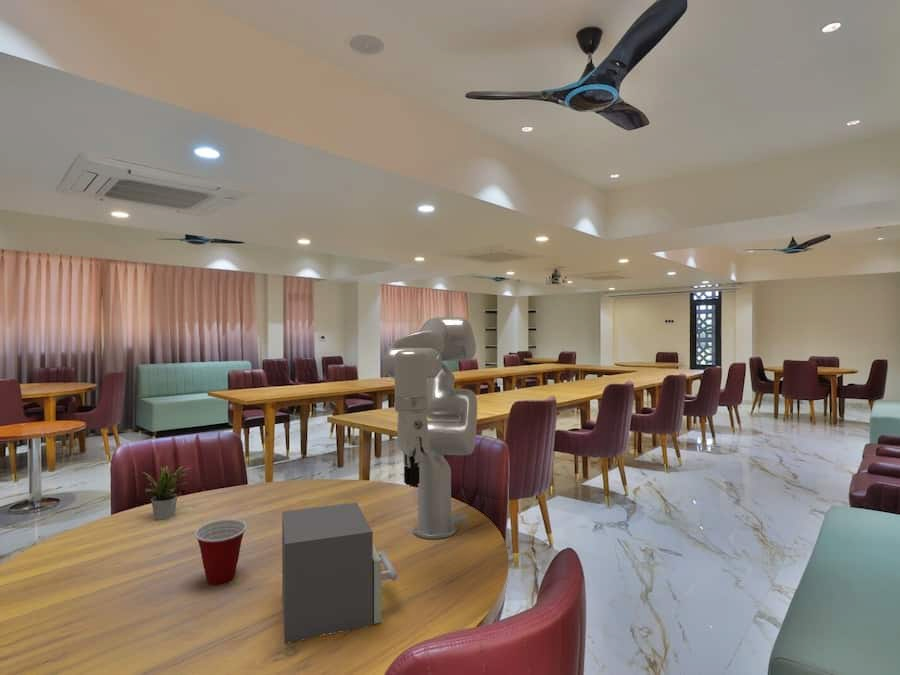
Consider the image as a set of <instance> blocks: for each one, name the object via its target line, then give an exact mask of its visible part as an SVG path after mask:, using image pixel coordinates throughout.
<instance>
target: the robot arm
mask: <svg viewBox="0 0 900 675" xmlns="http://www.w3.org/2000/svg"><path fill="white" fill-rule="evenodd" d="M476 352H477V345H476V339H475V336H474V331H473V329H472V326H471V324H470V322H469V321H468V320H467V318H465V317H462V316H461V317H459V316H458V317H457V316H456V317H453V316H451V317H447V316H446V317H440V316H439V317H432V318H429V319H427V320H426V321H425V322H424V324H422V326H421V328H420V329H419V331H418V332H414V333H411V334H409V335H408V334H407V335H405V336H404V337H403V336H402V337H401V338H398V339H396V340H394V341H393V342H392V343H391V344H390V345H389V346H388V348H387V349H386V351H385V353H384V356H383V360H382V368H383V371H384V373H385V375H386V376H387V377H389V378H392V379H394V411H395V412H396V413H397V432H396V434H397V435H396V437H397V439H396V440H397V447H398V449H399V450H400V451H401V452H402V453H403V465H404V466H403V470H404V471H403V483H404V484H405V485H406V486H413V485H417V522H415V524H413V526H412V532H413V534H414V535H415V536H417V537H420V538H422V539H423V538H424V539H429V540H430V539H431V540H438V539H445V538H449V537H451V536H453V535H455V533H456V532H457V524H458V523H465V522H467V521H468V516H467V514H462V515H460V513H458V512H457V513H452V494H451V493H452V469H451V466H450V464H449V462H448V460H446V458H445V457H444V456H446V455H447V456H469V455H471V454H472V453H473V452H474V451H475V447H476V441H477V440H476V439H477V423H478V419H477V418H478V400H477V396H476V393H475V392H474V391H472V390H471V389H466V388H455V384H456V378H455V375H454V373H453V372H452V371H451V369H450V368H449V367H448V366H447V365H446V364H445V363H443V362H448V361H449V362H468V361H471V360H473V359H474V357H475V355H476ZM428 419H430V420H428Z"/></svg>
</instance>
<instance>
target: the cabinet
mask: <svg viewBox="0 0 900 675" xmlns="http://www.w3.org/2000/svg"><path fill="white" fill-rule="evenodd" d="M281 515H282V516H281V518H282V519H281V520H282V521H281V522H282V524H281V525H282V526H281V527H282V528H281V531H282V532H281V534H282V535H281V537H282V538H281V539H282V540H281V541H282V542H281V544H282V548H281V549H282V552H281V553H282V554H281V556H282V557H281V559H282V560H281V562H282V563H281V565H282V568H281V570H282V573H281V574H282V576H281V578H282V579H281V582H282V583H281V584H282V588H281V590H282V592H281V593H282V594H281V595H282V596H281V597H282V599H281V600H282V612H283V613H282V615H283V636H284V637H283V638H284V639H285V640H284V644H285V643H287V644H289V643H288V642H292V643H294V642H293V641H296V642H300V641H299V640H301V641H303V640H302V639H306V640H309V639H308V638H311V639H313V638H312V637H316V636H320V635H323V634H329V633H334V632H339V631H345V632H347V631H346V630H349V631H353V630H352V629H354V630H358V629H357V628H359V629H362V628H361V627H364V628H366V627H365V626H369V627H372V626H371V625H373V624H374V622H373V545H374V542H373V540H374V539H373V538H374V537H373V536H374V534H373V533H374V532H373V530H372V528H371V527H370V524H369V522H368V521H367V519H366V517H365V515H364V513H363V511H362V510H361V508H360V506H359V504H358V502H350V503H342V504H335V505H326V506H317V507H309V508H300V509H291V510H289V509H288V510H283V511H282V514H281ZM316 638H317V637H316Z"/></svg>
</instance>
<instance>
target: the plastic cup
mask: <svg viewBox="0 0 900 675" xmlns="http://www.w3.org/2000/svg"><path fill="white" fill-rule="evenodd" d="M247 526H248V525H247V524H246V523H245V521H243V520H240V519H234V518H233V519H232V518H226V519H218V520H213V521H210V522H208V523H205V524H202V525H201V526H198V528H196V530H195V532H194V537H195V538H196V540H197V542H198V545H199V549H200V554H201V561H202V566H203V570H204V575H205V580H206V583H207V584H208V585H211V586H222V585H225V584H228V583H230V582H232V581H233V580H234V579H235V576H236V573H237V568H238V567H237V566H238V562H239V558H240V550H241V545H242V540H243V537H244V533H245V532H246V530H247Z"/></svg>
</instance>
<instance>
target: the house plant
mask: <svg viewBox="0 0 900 675" xmlns="http://www.w3.org/2000/svg"><path fill="white" fill-rule="evenodd" d="M159 467H160V470H161V475H160V478H159V480H158V483H157V480H155V479H154V477H153V476H152V475H150V474H148V473H146V472H144V471H142V472H141V473H142V474H144V475H146V476H147V477H146V479H147V480H149V481H150V482H151V483H149V487H150V488H145V489H144V490H145V493H146V492H150V493H152V494H153V495H154V497H152V498H151V499H150V501H151V506H152V512H153V517H154V520H155V521H158V520H162V521H166V520H165V519H168V520H170V519H169V518H171V517H173V516H174V517H175V512H176V507H177V501H178V494H175V492H176V491H177V490H178V489H179V488H180V487H181V486H183V485H184V486H186V483H187V484H188V481H186V482H183V483H176V482H177V481H178V479H179V478H181V477H182V476H185V475H186V473H184V474H181V473H183V472H184V471H186V470H189V469H191V467H188V468H187V467H186V468H184V469H182V468H183V467H184V465H182V466H180V467H178V468H177V469H176V470H175V471H174V473H171V474H170V470H169V466H168V465H167V464H165V466H163V467H161V466H159ZM180 474H181V475H180ZM179 475H180V476H179ZM177 486H178V487H177ZM176 487H177V488H176ZM172 492H173V493H172ZM174 517H173V518H174ZM171 519H172V518H171Z"/></svg>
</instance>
